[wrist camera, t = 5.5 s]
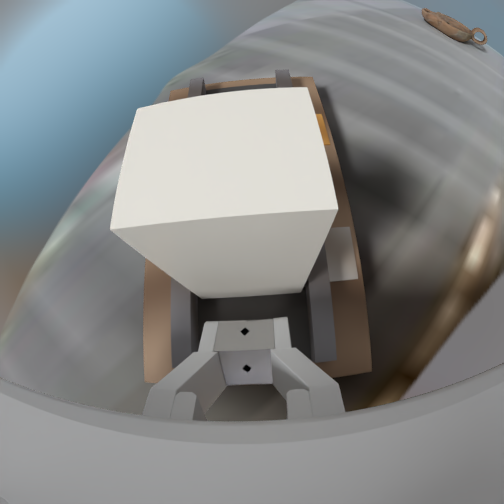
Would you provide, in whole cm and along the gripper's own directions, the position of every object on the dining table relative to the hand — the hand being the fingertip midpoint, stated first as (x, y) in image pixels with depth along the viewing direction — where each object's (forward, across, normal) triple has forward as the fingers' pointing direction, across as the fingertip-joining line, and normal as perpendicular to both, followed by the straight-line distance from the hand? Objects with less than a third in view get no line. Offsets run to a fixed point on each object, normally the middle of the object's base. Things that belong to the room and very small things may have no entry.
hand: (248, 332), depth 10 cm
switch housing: (+10, 0, -2) cm, 10 cm away
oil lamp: (+35, -38, -26) cm, 58 cm away
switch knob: (+5, 0, 0) cm, 5 cm away
